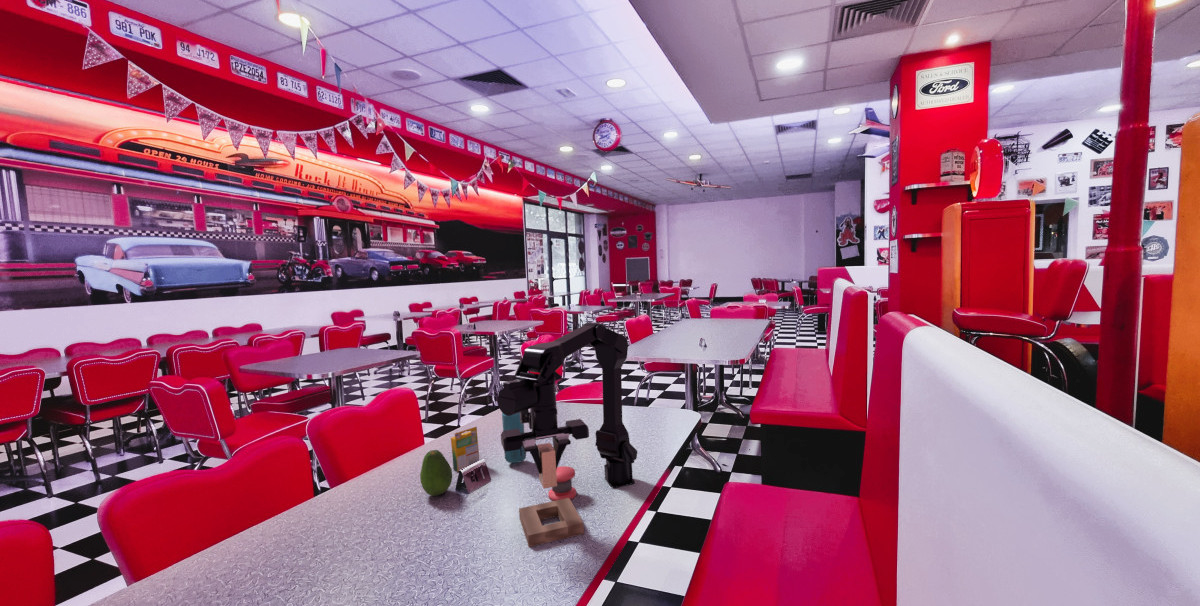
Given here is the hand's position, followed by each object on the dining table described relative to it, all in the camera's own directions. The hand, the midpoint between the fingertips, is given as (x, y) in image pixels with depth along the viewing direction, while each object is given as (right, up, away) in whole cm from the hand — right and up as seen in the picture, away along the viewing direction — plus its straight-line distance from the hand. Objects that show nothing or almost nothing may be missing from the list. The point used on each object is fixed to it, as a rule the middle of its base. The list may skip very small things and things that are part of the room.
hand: (547, 471), depth 105 cm
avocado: (-31, -13, +19) cm, 38 cm away
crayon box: (-28, -11, +36) cm, 47 cm away
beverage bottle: (-13, -11, +36) cm, 40 cm away
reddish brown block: (0, -3, 0) cm, 3 cm away
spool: (+2, -11, +15) cm, 19 cm away
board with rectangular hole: (+1, -13, +1) cm, 12 cm away
